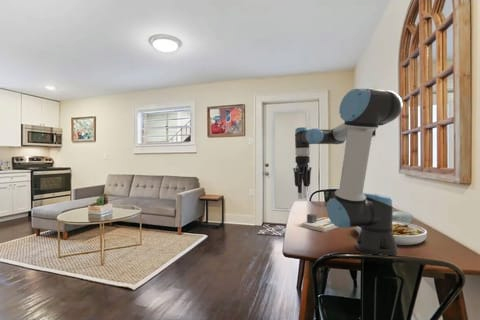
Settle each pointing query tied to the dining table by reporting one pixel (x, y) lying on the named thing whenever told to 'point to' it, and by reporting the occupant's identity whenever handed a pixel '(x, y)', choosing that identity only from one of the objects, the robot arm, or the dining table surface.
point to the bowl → (405, 233)
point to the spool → (402, 217)
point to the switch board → (320, 224)
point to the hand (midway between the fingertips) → (302, 198)
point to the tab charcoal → (311, 218)
